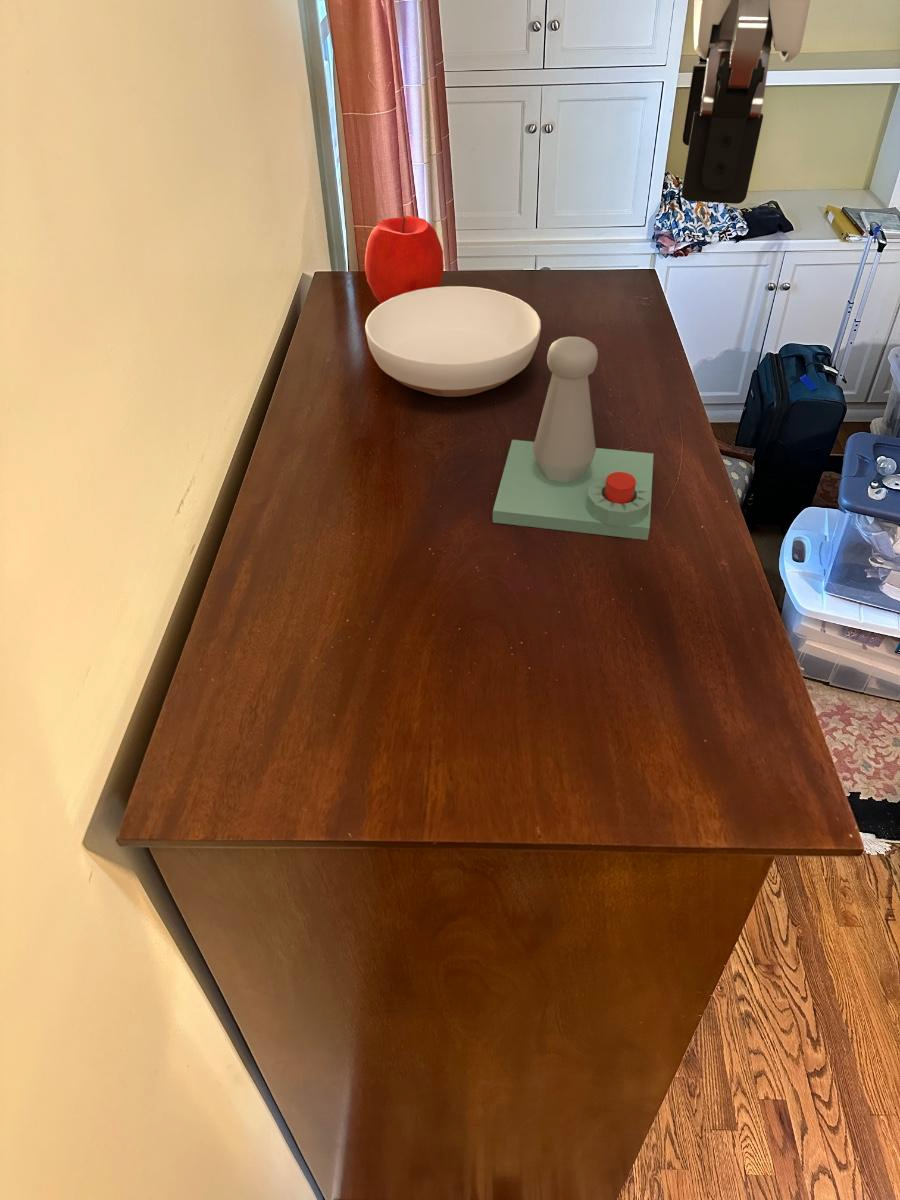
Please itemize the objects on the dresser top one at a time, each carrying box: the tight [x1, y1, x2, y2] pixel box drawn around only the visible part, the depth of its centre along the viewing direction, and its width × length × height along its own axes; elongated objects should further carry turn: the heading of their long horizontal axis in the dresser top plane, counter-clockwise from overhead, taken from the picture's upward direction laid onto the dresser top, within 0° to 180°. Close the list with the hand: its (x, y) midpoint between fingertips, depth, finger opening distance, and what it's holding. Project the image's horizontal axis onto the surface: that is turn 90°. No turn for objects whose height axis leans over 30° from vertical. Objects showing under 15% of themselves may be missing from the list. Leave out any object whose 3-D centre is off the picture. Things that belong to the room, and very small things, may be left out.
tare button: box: [604, 472, 636, 504], centre depth 76 cm, size 3×3×2 cm
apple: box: [364, 215, 445, 305], centre depth 107 cm, size 10×10×12 cm
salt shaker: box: [533, 336, 599, 483], centre depth 78 cm, size 6×6×13 cm
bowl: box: [364, 285, 542, 398], centre depth 97 cm, size 20×20×6 cm
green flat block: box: [492, 439, 654, 541], centre depth 81 cm, size 14×12×3 cm
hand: (710, 170), depth 48 cm, fingers open, 9 cm apart
